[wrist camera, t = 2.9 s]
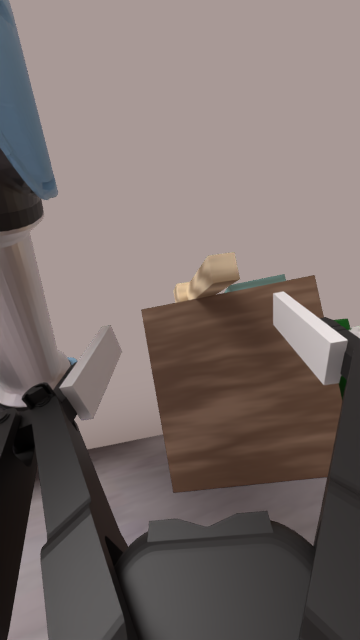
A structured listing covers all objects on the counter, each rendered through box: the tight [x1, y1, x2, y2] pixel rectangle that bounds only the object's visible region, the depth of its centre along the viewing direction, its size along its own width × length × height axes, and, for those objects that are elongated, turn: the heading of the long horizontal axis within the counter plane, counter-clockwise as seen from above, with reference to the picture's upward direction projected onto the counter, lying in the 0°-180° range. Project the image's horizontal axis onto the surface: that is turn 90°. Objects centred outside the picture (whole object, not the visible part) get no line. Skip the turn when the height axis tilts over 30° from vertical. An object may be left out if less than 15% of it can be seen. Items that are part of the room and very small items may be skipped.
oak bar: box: [174, 252, 240, 303], centre depth 32 cm, size 21×6×4 cm, turn 7°
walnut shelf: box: [141, 274, 342, 493], centre depth 36 cm, size 14×26×29 cm, turn 84°
